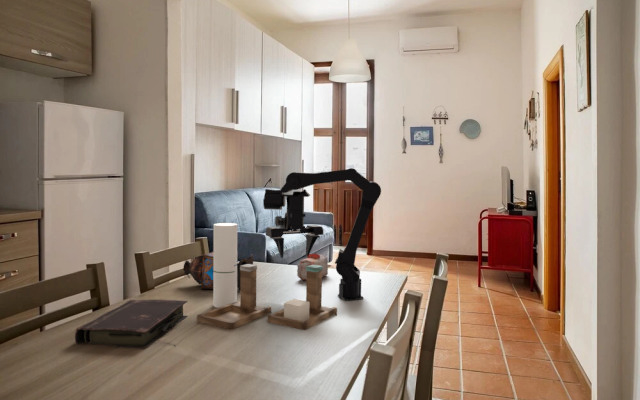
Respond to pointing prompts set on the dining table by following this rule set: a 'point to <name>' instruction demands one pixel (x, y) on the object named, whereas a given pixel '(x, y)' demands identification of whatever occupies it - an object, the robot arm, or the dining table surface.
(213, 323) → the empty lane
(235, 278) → the cylindrical container
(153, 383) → the dining table surface
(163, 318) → the diary
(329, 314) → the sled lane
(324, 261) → the food item
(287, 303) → the cube
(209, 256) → the patterned brown vase
